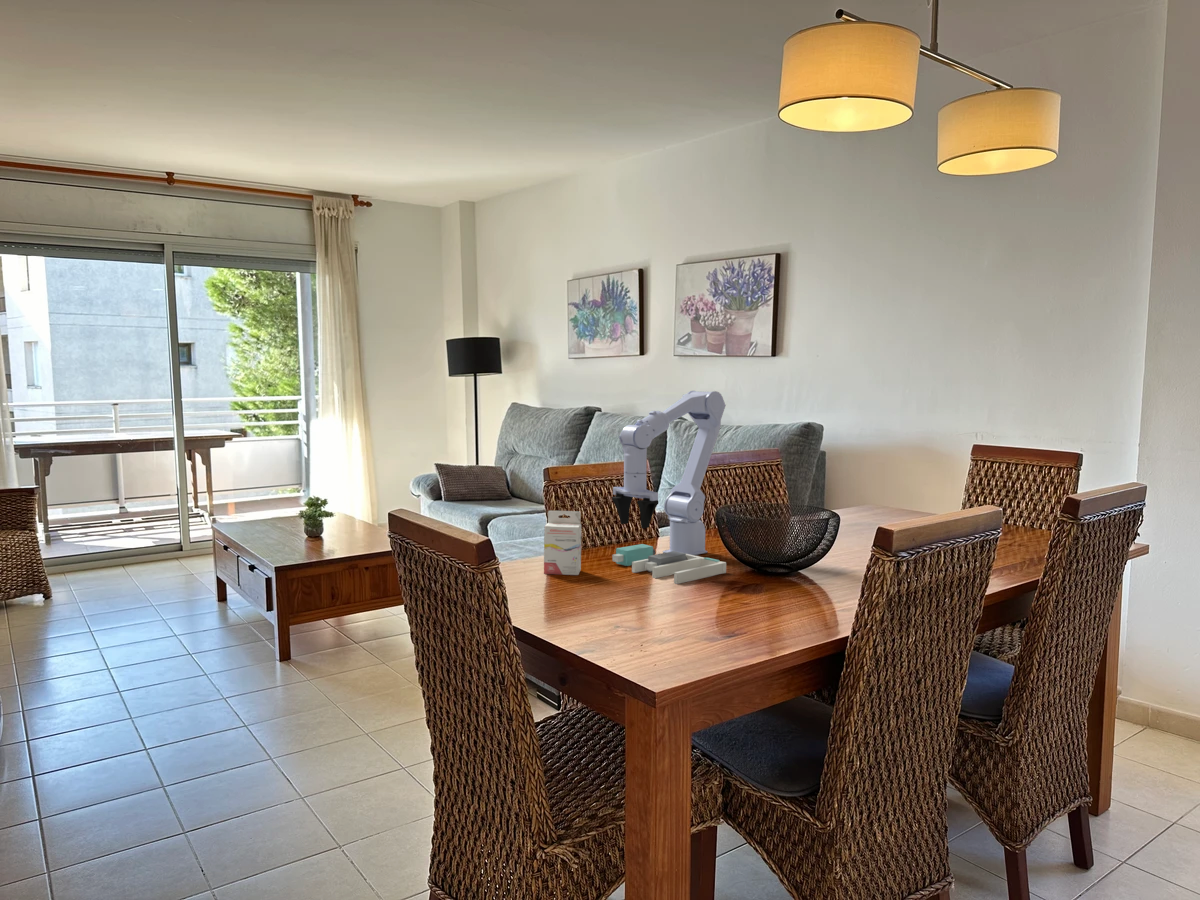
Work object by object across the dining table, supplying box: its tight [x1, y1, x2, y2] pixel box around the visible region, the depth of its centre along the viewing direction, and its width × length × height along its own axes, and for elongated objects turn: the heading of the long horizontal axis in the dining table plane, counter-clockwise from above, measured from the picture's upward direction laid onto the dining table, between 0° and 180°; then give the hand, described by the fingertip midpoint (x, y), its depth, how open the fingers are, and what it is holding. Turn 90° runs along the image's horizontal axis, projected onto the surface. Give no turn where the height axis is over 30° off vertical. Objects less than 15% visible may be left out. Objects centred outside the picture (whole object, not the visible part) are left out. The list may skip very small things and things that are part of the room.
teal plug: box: [611, 543, 656, 567], centre depth 210 cm, size 13×4×4 cm, turn 129°
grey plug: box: [645, 551, 688, 573], centre depth 201 cm, size 13×4×4 cm, turn 131°
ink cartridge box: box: [543, 510, 582, 576], centre depth 198 cm, size 9×5×15 cm, turn 84°
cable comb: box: [631, 552, 727, 585], centre depth 199 cm, size 17×15×3 cm
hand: (634, 525), depth 209 cm, fingers open, 7 cm apart
